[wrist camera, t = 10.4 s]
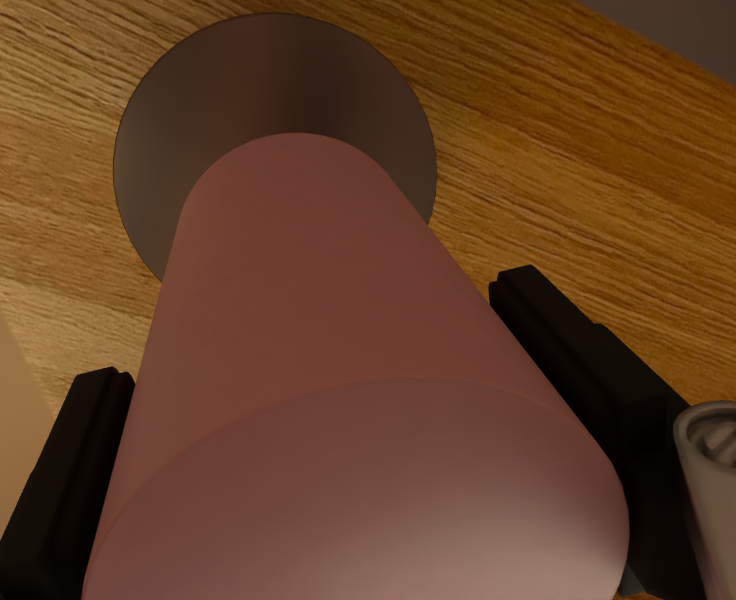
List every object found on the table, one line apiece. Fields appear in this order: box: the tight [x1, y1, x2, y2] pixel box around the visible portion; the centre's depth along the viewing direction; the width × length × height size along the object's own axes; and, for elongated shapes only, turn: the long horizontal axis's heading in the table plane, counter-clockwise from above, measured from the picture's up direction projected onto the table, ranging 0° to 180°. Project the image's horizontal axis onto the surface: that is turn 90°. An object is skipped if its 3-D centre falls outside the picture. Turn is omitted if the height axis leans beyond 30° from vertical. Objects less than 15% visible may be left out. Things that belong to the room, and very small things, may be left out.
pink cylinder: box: [81, 133, 630, 600], centre depth 11 cm, size 6×6×10 cm
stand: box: [113, 12, 437, 282], centre depth 26 cm, size 11×11×9 cm
